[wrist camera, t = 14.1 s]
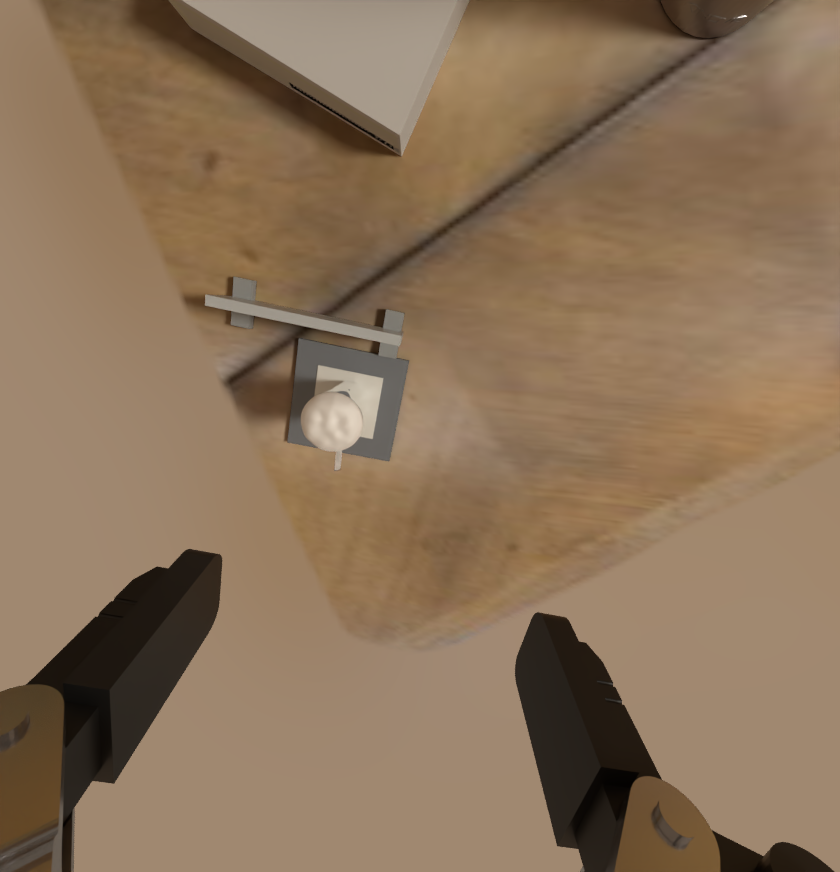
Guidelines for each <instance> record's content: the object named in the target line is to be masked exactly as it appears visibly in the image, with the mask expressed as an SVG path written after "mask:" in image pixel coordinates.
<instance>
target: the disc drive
mask: <svg viewBox="0 0 840 872" xmlns="http://www.w3.org/2000/svg"><path fill="white" fill-rule="evenodd" d="M469 1H470V0H169V2H170V3H171V4H172V5H173V7H174V8H175V9H176V10H177V12H178V13H179V14H180V15H181V17H182V18H183V19H184V20H185V22H186V23H187V24H188V25H189V26H190V28H191V29H193V30H194V31H196V32H198V33H199V34H201V35H203V36H204V37H206V38H208V39H209V40H211V41H213V42H214V43H216V44H217V45H219V46H221V47H222V48H224V49H226V50H227V51H229V52H231V53H232V54H234V55H235V56H237V57H239V58H240V59H242V60H244V61H245V62H247V63H249V64H250V65H252V66H254V67H255V68H257V69H258V70H260V71H262V72H263V73H265V74H267V75H268V76H270V77H272V78H273V79H275V80H277V81H278V82H280V83H281V84H283V85H285V86H286V87H288V88H290V89H291V90H293V91H295V92H296V93H298V94H300V95H301V96H303V97H304V98H306V99H308V100H309V101H311V102H313V103H314V104H316V105H318V106H319V107H321V108H323V109H324V110H326V111H327V112H329V113H331V114H332V115H334V116H336V117H337V118H339V119H341V120H342V121H344V122H345V123H347V124H349V125H350V126H352V127H354V128H355V129H357V130H359V131H360V132H362V133H364V134H365V135H367V136H368V137H370V138H372V139H373V140H375V141H377V142H378V143H380V144H382V145H383V146H385V147H387V148H388V149H390V150H391V151H393V152H395V153H396V154H398V155H400V156H401V157H402V155H403V152H404V150H405V148H406V145H407V143H408V141H409V139H410V136H411V134H412V132H413V129H414V127H415V125H416V122H417V120H418V118H419V116H420V113H421V111H422V109H423V106H424V104H425V102H426V99H427V97H428V95H429V93H430V90H431V88H432V86H433V83H434V81H435V79H436V76H437V74H438V72H439V70H440V67H441V65H442V63H443V60H444V58H445V56H446V54H447V51H448V49H449V47H450V44H451V42H452V40H453V37H454V35H455V33H456V31H457V28H458V26H459V24H460V21H461V19H462V17H463V14H464V12H465V10H466V8H467V5H468V3H469Z"/></svg>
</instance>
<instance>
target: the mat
mask: <svg viewBox="0 0 840 872" xmlns="http://www.w3.org/2000/svg"><path fill="white" fill-rule="evenodd" d="M408 364H409V360H404V359H399V358H396V359H393V358H389V357H384V356H379V355H378V354H375V353H370V352H365V351H361V350H356V349H351V348H346V347H341V346H336V345H332V344H327V343H322V342H317V341H312V340H307V339H302V338H299V341H298V351H297V360H296V369H295V378H294V387H293V396H292V405H291V414H290V423H289V433H288V443H293V444H299V445H304V446H309V447H315V448H318V447H316V446H315V445H314V444H312V443H311V442H310V441H309V440H308V439H307V438H306V437H305V435H304V433H303V430H302V426H301V413H302V410H303V408H304V406H305V405H306V404H307V402H308V401H309V400H310V399H312V398H313V397H314V396H316V395H318V394H320V393H322V392H325V391H327V390H329V389H331V388H333V387H334V386H336V385H338V384H340V383H342V382H344V381H347V382H354V383H356V384H358V385H359V386H360V387H361V388H362V389H363V390H364V393H365V398H366V406H365V412H364V418H363V429H362V433H361V435H360V437H359V439H358V440H357V441H356V442H355V444H353V445H352V446H351V447H349V448H347V449H344V450H342V453H347V454H352V455H358V456H363V457H368V458H374V459H379V460H384V461H390V456H391V450H392V445H393V440H394V435H395V430H396V425H397V420H398V415H399V410H400V405H401V400H402V394H403V389H404V384H405V379H406V374H407V369H408Z"/></svg>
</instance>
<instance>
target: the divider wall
mask: <svg viewBox="0 0 840 872" xmlns="http://www.w3.org/2000/svg"><path fill="white" fill-rule="evenodd" d="M255 294H256V281H253V280H248V279H244V278H239V277H234V278H233V295H232V296H224V295H205V306H210V307H214V308H219V309H224V310H229V311H232V313H231V325H234V326H238V327H243V328H248V329H251V328H253V320H254V316H258V317H262V318H267V319H272V320H277V321H281V322H286V323H291V324H296V325H301V326H305V327H310V328H315V329H320V330H325V331H329V332H334V333H339V334H344V335H348V336H353V337H358V338H363V339H368V340H372V341H377V342H380V348H379V354H378V355H379V356H384V357H389V358H393V359H396V357H397V351H398V346H400V344H401V341H402V336H403V332H402V331H401V330H402V324H403V319H404V314H405V313H402V312H397V311H392V310H388V309H386V313H385V319H384V325H383V327H378V326H373V325H369V324H364V323H359V322H354V321H350V320H345V319H340V318H336V317H331V316H326V315H321V314H317V313H312V312H307V311H303V310H298V309H293V308H288V307H284V306H279V305H274V304H269V303H265V302H260V301H255Z"/></svg>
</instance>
